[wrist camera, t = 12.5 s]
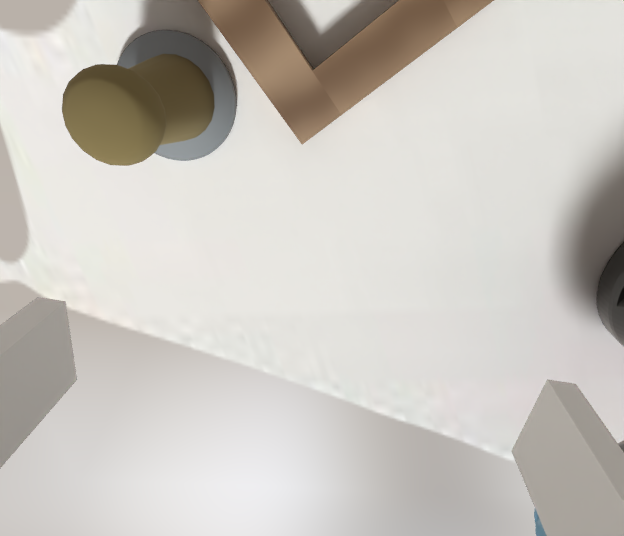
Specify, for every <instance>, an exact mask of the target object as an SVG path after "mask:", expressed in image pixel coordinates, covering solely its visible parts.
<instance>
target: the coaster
mask: <svg viewBox="0 0 624 536" xmlns="http://www.w3.org/2000/svg"><path fill="white" fill-rule="evenodd" d="M161 54H176V55H179V56H181V57H184V58H187V59H189V60H190V61H191V62H193V63H194V64H195V65H196V66H198V67H199V68H200V69H201V70H202V72H203V73H204V74H205V76H206V77H207V79H208V80H209V82H210V85H211V88H212V91H213V93H214V105H215V108H214V113H213V117H212V121H211V122H210V124H209V125H208V127H207V128H206V130H205V131H204V132H203V133H201V134H200V135H199V136H197V137H196V138H193V139H189V140H186V141H181V142H175V143H169V144H163V145H160V146H159V147H158V149H157V151H156V152H155V153H156V154H158V155H160V156H162V157H165V158H168V159H173V160H180V161H186V160H194V159H198V158H201V157H204V156H206V155H208V154H210V153H211V152H213V151H214V150H215V149H217V148H218V147H219V146H220V145H221V144H222V143H223V142H224V140H225V139H226V138H227V136H228V135H229V133H230V131H231V129H232V126H233V123H234V119H235V114H236V95H235V89H234V85H233V82H232V79H231V76H230V74H229V72H228V70H227V68H226V66H225V65H224V63H223V62H222V60H221V59H220V58H219V56H218V55H217V54H216V53H215V52H214V51H213V50H212V49H211V48H210V47H209V46H208V45H206V44H205V43H204V42H202V41H201V40H199V39H197V38H195V37H194V36H191V35H189V34H186V33H182V32H178V31H170V30H158V31H153V32H149V33H147V34H144V35H142V36H140V37H138V38H137V39H135V40H134V41H133V42H132V43H130V44H129V45H128V47H127V48H126V49H125V50H124V52H123V53H122V55H121V57H120V59H119V61H118V63H117V65H119V66H122V67H124V68H127V69H128V68H130V67H132V66H135V65H137V64H139V63H141V62H143V61H145V60H147V59H150V58H152V57H155V56H158V55H161Z"/></svg>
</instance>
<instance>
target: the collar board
mask: <svg viewBox="0 0 624 536" xmlns="http://www.w3.org/2000/svg"><path fill="white" fill-rule="evenodd" d="M198 1H199V3H200V4H201V6H202V7H203V8H204V10H205V11H206V12H207V14H208V15H209V17H210V18H211V19H212V21H213V22H214V24H215V25H216V26H217V28H218V29H219V30H220V32H221V33H222V35H223V36H224V37H225V39H226V40H227V41H228V43H229V44H230V46H231V47H232V48H233V50H234V51H235V53H236V54H237V55H238V57H239V58H240V59H241V61H242V62H243V64H244V65H245V66H246V68H247V69H248V70H249V72H250V73H251V75H252V76H253V77H254V79H255V80H256V81H257V83H258V84H259V86H260V87H261V88H262V90H263V91H264V93H265V94H266V95H267V97H268V98H269V99H270V101H271V102H272V104H273V105H274V106H275V108H276V109H277V110H278V112H279V113H280V115H281V116H282V117H283V119H284V120H285V122H286V123H287V124H288V126H289V127H290V128H291V130H292V131H293V133H294V134H295V135H296V137H297V138H298V139H299V141H300V142H301V144H303V143H305V142H306V141H307V140H309V139H310V138H311V137H313V136H314V135H315V134H317V133H318V132H319V131H321V130H322V129H323V128H325V127H326V126H327V125H329V124H330V123H331V122H333V121H334V120H335V119H337V118H338V117H339V116H341V115H342V114H343V113H345V112H346V111H347V110H349V109H350V108H351V107H353V106H354V105H355V104H357V103H358V102H359V101H361V100H362V99H363V98H365V97H366V96H367V95H369V94H370V93H371V92H373V91H374V90H375V89H377V88H378V87H379V86H381V85H382V84H383V83H385V82H386V81H387V80H389V79H390V78H391V77H393V76H394V75H395V74H397V73H398V72H399V71H400V70H402V69H403V68H404V67H406V66H407V65H408V64H410V63H411V62H412V61H414V60H415V59H416V58H418V57H419V56H420V55H422V54H423V53H424V52H426V51H427V50H428V49H430V48H431V47H432V46H434V45H435V44H436V43H438V42H439V41H440V40H442V39H443V38H444V37H446V36H447V35H448V34H450V33H451V32H452V31H454V30H455V29H456V28H458V27H459V26H460V25H462V24H463V23H464V22H466V21H467V20H468V19H470V18H471V17H472V16H474V15H475V14H476V13H478V12H479V11H480V10H482V9H483V8H484V7H486V6H487V5H488V4H490V3H491V2H492V1H494V0H399V1H397V2H396V3H395V4H394V5H393V6H391V7H390V8H389V9H388V10H386V11H385V12H384V13H383V14H381V15H380V16H379V17H378V18H377V19H375V20H374V21H373V22H372V23H370V24H369V25H368V26H367V27H365V28H364V29H363V30H362V31H361V32H359V33H358V34H357V35H356V36H354V37H353V38H352V39H351V40H349V41H348V42H347V43H346V44H345V45H343V46H342V47H341V48H340V49H338V50H337V51H336V52H335V53H333V54H332V55H331V56H330V57H329V58H327V59H326V60H325V61H324V62H322V63H321V64H320V65H319V66H317V67H316V68H315V69H313V68H312V66H311V65H310V63H309V62H308V60H307V59H306V57H305V56H304V54H303V53H302V51H301V50H300V48H299V47H298V45H297V44H296V42H295V41H294V39H293V38H292V36H291V35H290V33H289V32H288V30H287V29H286V27H285V26H284V24H283V23H282V21H281V20H280V18H279V17H278V15H277V14H276V12H275V11H274V9H273V8H272V6H271V5H270V3H269V2H268V0H198Z"/></svg>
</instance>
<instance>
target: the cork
mask: <svg viewBox="0 0 624 536" xmlns="http://www.w3.org/2000/svg"><path fill="white" fill-rule="evenodd" d="M214 108H215V105H214V93H213V91H212V88H211V85H210V82H209V80H208V79H207V77H206V76H205V74H204V73H203V72H202V70H201V69H200V68H199V67H198V66H196V65H195V64H194V63H193V62H191V61H190V60H189V59H187V58H184V57H181V56H179V55H176V54H161V55H158V56H155V57H152V58H150V59H147V60H145V61H143V62H141V63H139V64H137V65H135V66H132V67H130V68H128V69H127V68H124V67H122V66H119V65H105V64H100V65H94V66H91V67H89V68H86V69H83V70H82V71H80V72H79V73H78V74H77V75H76V76H75V77H74V78H72V79H71V80H70V81H69V83H68V85H67V87H66V89H65V92H64V94H63V104H62V113H63V117H64V121H65V126H66V128H67V129H68V131H69V133H70V135H71V137H72V139H73V140H74V141H75V142H76V143H77V144H78V145H79V147H80V148H81V149H82V150H83V151H84V152H86V153H87V154H89V155H90V156H92V157H93V158H95V159H96V160H98V161H101V162H104V163H107V164H110V165H132V164H136V163H139V162H142V161H144V160H145V159H147V158H148V157H149V156H151V155H152V154H153V153H155V152H156V151H157V149H158V147H159V146H160V145H163V144H169V143H175V142H181V141H186V140H189V139H193V138H196V137H197V136H199V135H200V134H201V133H203V132H204V131H205V130H206V128H207V127H208V125H209V124H210V122H211V121H212V117H213V113H214Z"/></svg>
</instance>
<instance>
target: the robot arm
mask: <svg viewBox="0 0 624 536" xmlns="http://www.w3.org/2000/svg"><path fill="white" fill-rule="evenodd" d="M597 309H598V313H599V316H600V319H601V321H602V323H603V324H604V326H605V327H606V329H607V330H608V331H609V332H610V333H611V334H612V335H613V336H614V337H615V338H616V339H617V340H618V341H619V342H620V344H621V345H623V346H624V243H623V244H622V245H621V246H620V248H619V249H618V250H617V251H616V252H615V254H614V255H613V257H612V258H611V259H610V261H609V263H608V264H607V266H606V268H605V270H604V272H603V274H602V277H601V279H600V282H599V286H598V291H597ZM76 380H77V376H76V369H75V362H74V356H73V349H72V343H71V335H70V329H69V322H68V316H67V309H66V302H65V301H59V300H53V299H47V298H41V297H37V298H36V299H35V300H33V301H32V302H31V303H29V304H28V305H27V306H25V307H24V308H23V309H21V310H20V311H19V312H18V313H16V314H15V315H13V316H12V317H10V318H9V319H8V320H6V321H5V322H4V323H3V324H1V325H0V468H1V467H2V466H3V464H4V463H5V462H6V461H7V460H8V459H9V458H10V456H11V455H12V454H13V453H14V452H15V451H16V450H17V448H18V447H19V446H20V445H21V444H22V443H23V441H24V440H25V439H26V438H27V436H28V435H30V433H31V432H32V431H33V430H34V429H35V428H36V426H37V425H38V424H39V423H40V422H41V421H42V419H43V418H44V417H45V416H46V415H47V414H48V413H49V411H50V410H51V409H52V408H53V407H54V406H55V404H56V403H57V402H58V401H59V400H60V399H61V398H62V396H63V395H64V394H65V393H66V392H67V391H68V389H69V388H70V387H71V386H72V385H73V384H74V383H75V381H76ZM512 453H513V456H514V458H515V461H516V463H517V465H518V468H519V470H520V472H521V475H522V477H523V480H524V482H525V485H526V487H527V490H528V492H529V494H530V497H531V499H532V502H533V504H534V506H535V512H534V517H535V523H536V535H537V536H624V441H622V442H620V443H617V442H616V441H615V439H614V438H613V436H612V435H611V433H610V432H609V431H608V429H607V428H606V426H605V425H604V423H603V422H602V421H601V419H600V418H599V416H598V415H597V413H596V412H595V411H594V409H593V408H592V406H591V405H590V404H589V402H588V401H587V399H586V398H585V396H584V395H583V394H582V392H581V391H580V389H579V388H578V386H577V385H576V384H572V383H566V382H559V381H553V380H547V381H546V383H545V385H544V387H543V389H542V391H541V393H540V395H539V397H538V399H537V401H536V403H535V405H534V407H533V409H532V411H531V413H530V415H529V417H528V419H527V421H526V423H525V425H524V427H523V429H522V431H521V433H520V435H519V437H518V439H517V441H516V443H515V445H514V447H513V449H512Z"/></svg>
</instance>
